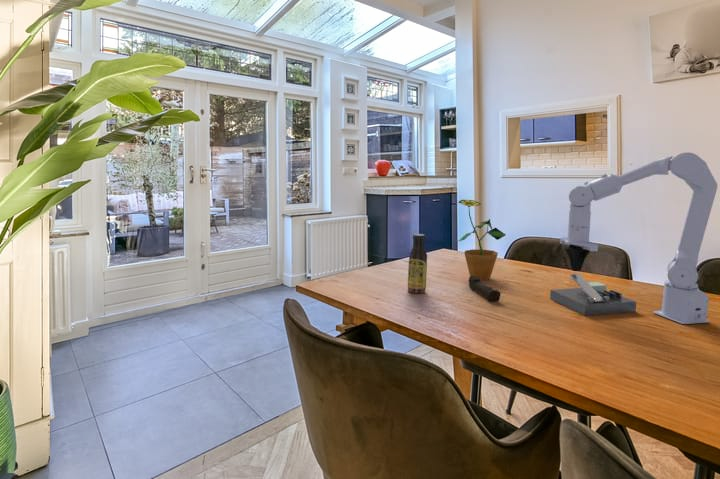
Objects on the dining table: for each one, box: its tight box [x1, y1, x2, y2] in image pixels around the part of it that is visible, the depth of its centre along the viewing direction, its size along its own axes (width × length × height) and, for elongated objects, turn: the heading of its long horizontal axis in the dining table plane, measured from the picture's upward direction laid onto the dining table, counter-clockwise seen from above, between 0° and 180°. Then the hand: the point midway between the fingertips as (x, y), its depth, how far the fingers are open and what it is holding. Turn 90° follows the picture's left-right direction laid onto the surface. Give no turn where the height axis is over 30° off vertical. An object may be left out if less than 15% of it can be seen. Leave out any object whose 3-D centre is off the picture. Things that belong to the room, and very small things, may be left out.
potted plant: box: [457, 199, 507, 281], centre depth 156 cm, size 18×19×30 cm
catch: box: [576, 281, 607, 292], centre depth 129 cm, size 4×7×2 cm, turn 99°
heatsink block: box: [549, 287, 637, 316], centre depth 124 cm, size 16×16×4 cm
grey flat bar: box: [569, 272, 604, 302], centre depth 122 cm, size 12×3×1 cm
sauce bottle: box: [407, 233, 428, 294], centre depth 140 cm, size 7×6×20 cm
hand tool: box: [468, 275, 501, 303], centre depth 138 cm, size 19×4×5 cm, turn 6°
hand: (576, 270), depth 126 cm, fingers closed
